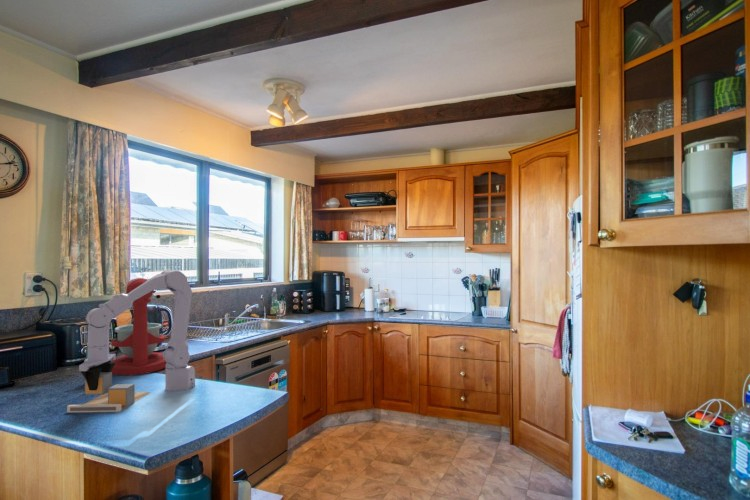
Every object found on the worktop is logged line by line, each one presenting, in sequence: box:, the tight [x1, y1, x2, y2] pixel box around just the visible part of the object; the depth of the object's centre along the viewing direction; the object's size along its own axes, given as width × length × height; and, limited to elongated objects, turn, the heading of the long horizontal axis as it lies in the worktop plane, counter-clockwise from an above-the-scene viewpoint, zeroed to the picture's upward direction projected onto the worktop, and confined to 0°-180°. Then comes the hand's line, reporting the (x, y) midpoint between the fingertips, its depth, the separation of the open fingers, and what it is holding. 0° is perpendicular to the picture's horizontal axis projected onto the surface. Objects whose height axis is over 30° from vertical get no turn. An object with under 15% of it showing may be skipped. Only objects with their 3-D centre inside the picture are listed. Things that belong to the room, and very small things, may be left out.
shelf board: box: [66, 391, 152, 414], centre depth 133 cm, size 16×18×1 cm
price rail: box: [66, 404, 122, 413], centre depth 124 cm, size 16×1×2 cm, turn 91°
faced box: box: [108, 383, 136, 408], centre depth 130 cm, size 6×4×6 cm
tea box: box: [84, 372, 113, 396], centre depth 130 cm, size 6×4×6 cm
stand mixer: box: [110, 277, 167, 376], centre depth 181 cm, size 24×32×40 cm
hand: (98, 387), depth 130 cm, fingers closed on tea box, 4 cm apart
